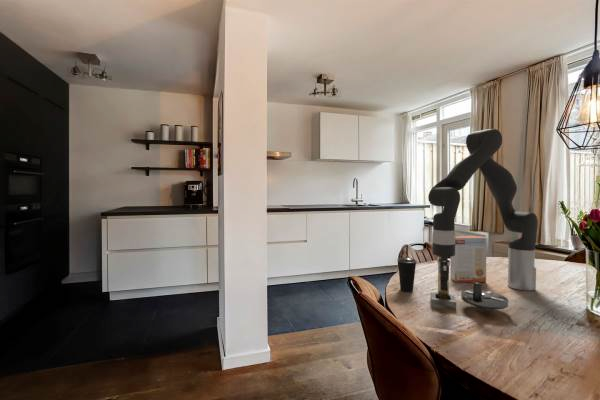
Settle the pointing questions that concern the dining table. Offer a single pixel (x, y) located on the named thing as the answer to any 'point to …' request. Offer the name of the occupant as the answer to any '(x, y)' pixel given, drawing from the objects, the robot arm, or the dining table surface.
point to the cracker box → (469, 259)
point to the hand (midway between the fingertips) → (443, 288)
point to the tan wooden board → (465, 309)
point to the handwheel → (484, 298)
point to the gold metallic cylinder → (441, 293)
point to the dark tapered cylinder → (406, 272)
